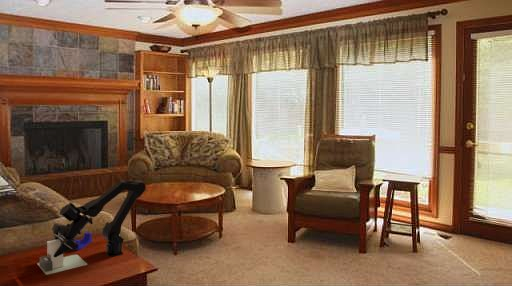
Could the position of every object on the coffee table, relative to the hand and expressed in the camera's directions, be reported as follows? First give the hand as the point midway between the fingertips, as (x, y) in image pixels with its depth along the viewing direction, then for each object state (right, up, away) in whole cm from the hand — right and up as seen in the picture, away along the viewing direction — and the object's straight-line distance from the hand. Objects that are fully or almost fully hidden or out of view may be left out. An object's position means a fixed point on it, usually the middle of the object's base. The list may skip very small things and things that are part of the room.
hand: (51, 254), depth 194 cm
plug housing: (+1, -5, +2) cm, 6 cm away
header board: (+3, -6, +4) cm, 8 cm away
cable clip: (+3, -4, +26) cm, 26 cm away
